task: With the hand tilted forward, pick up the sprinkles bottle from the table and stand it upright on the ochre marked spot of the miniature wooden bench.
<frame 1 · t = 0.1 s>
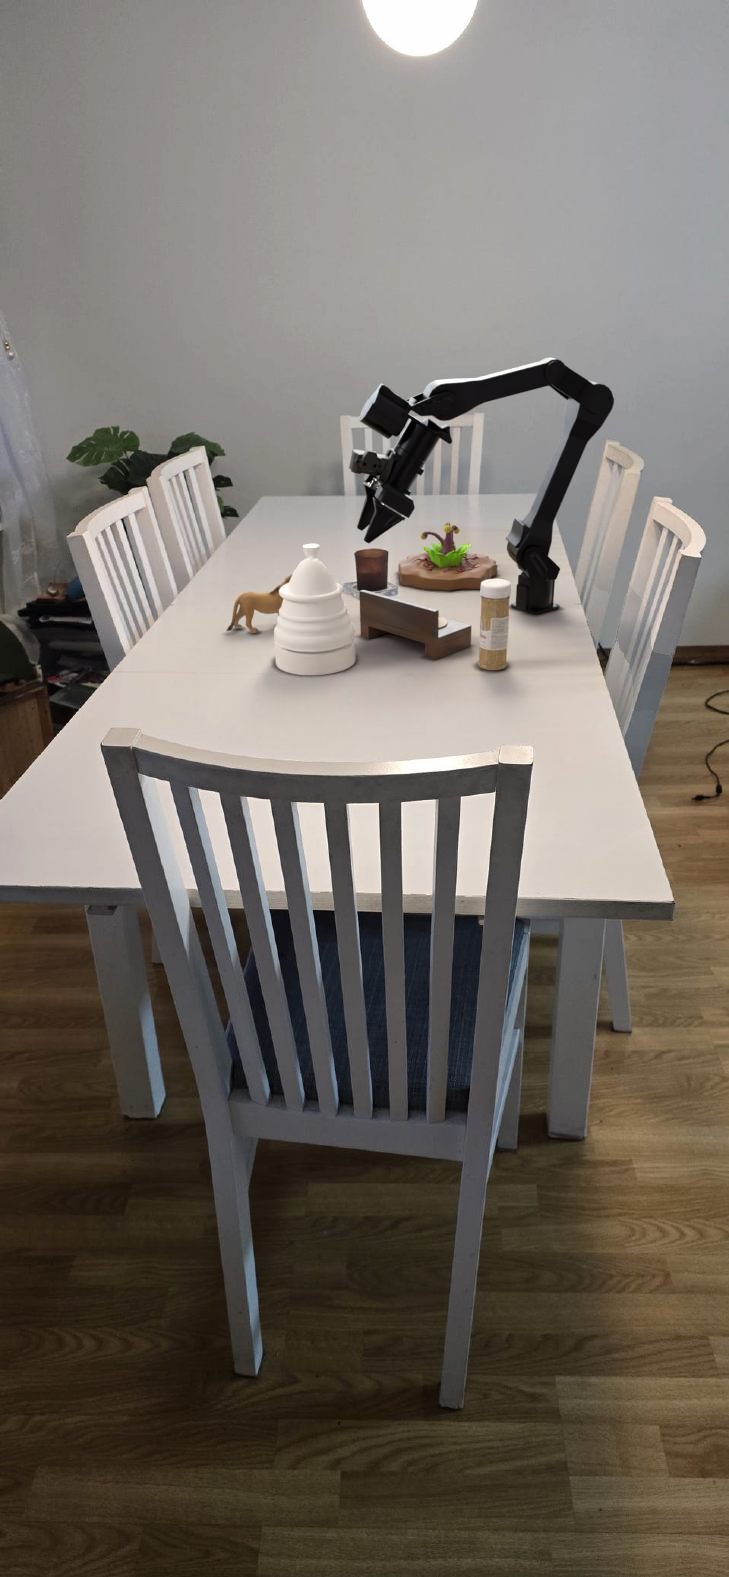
hand: (362, 535, 170), 15 cm above the table, tool tilted 35°, fingers open, 9 cm apart
miniature wooden bench: (414, 641, 166), on the table
plant: (446, 577, 200), on the table
sprinkles bottle: (492, 667, 155), on the table
honey pot: (315, 661, 159), on the table
lion figurine: (270, 628, 174), on the table
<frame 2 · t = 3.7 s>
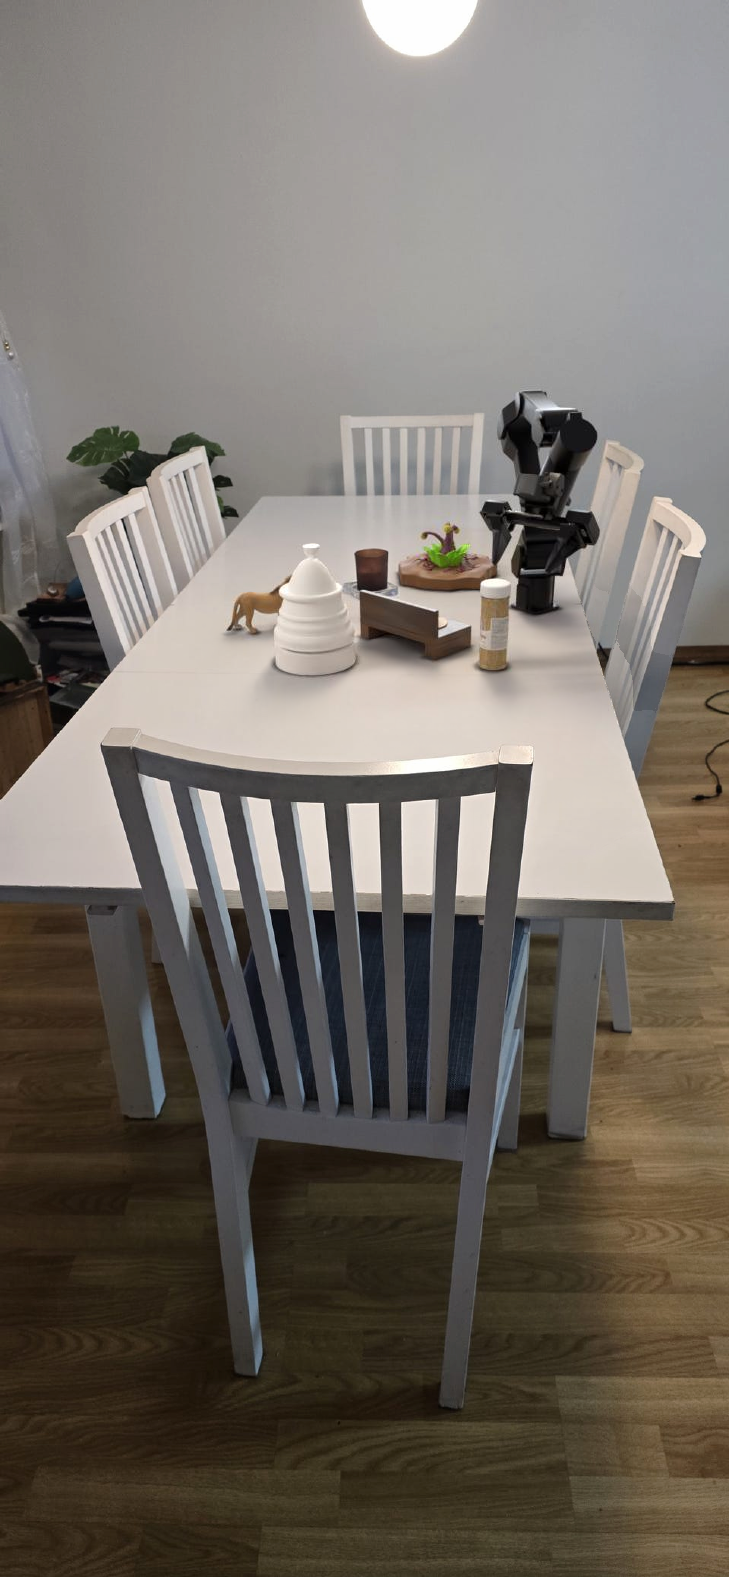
hand: (519, 568, 154), 14 cm above the table, tool tilted 45°, fingers open, 9 cm apart
nothing on the table moved.
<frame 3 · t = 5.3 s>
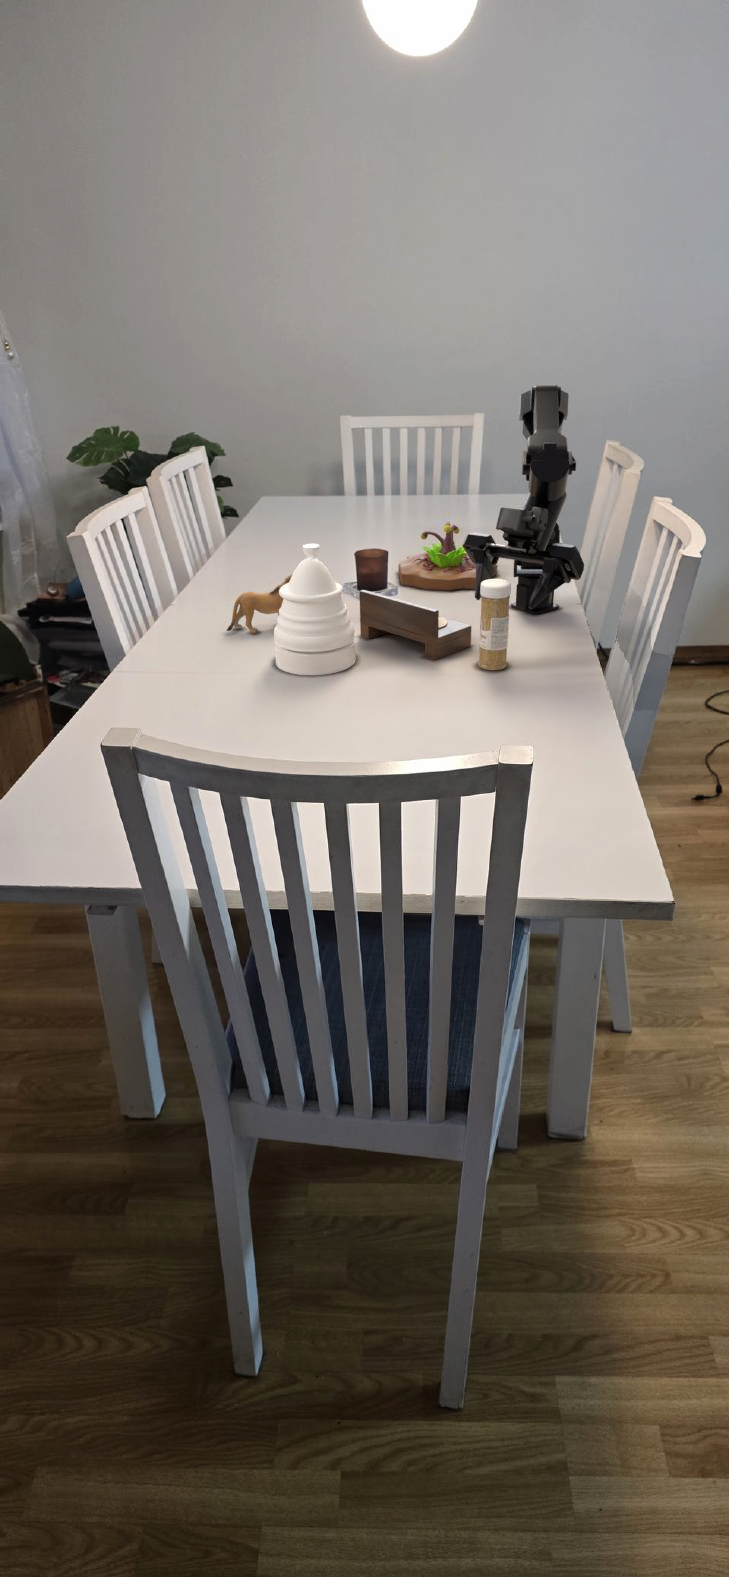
hand: (503, 603, 152), 10 cm above the table, tool tilted 45°, fingers open, 9 cm apart
nothing on the table moved.
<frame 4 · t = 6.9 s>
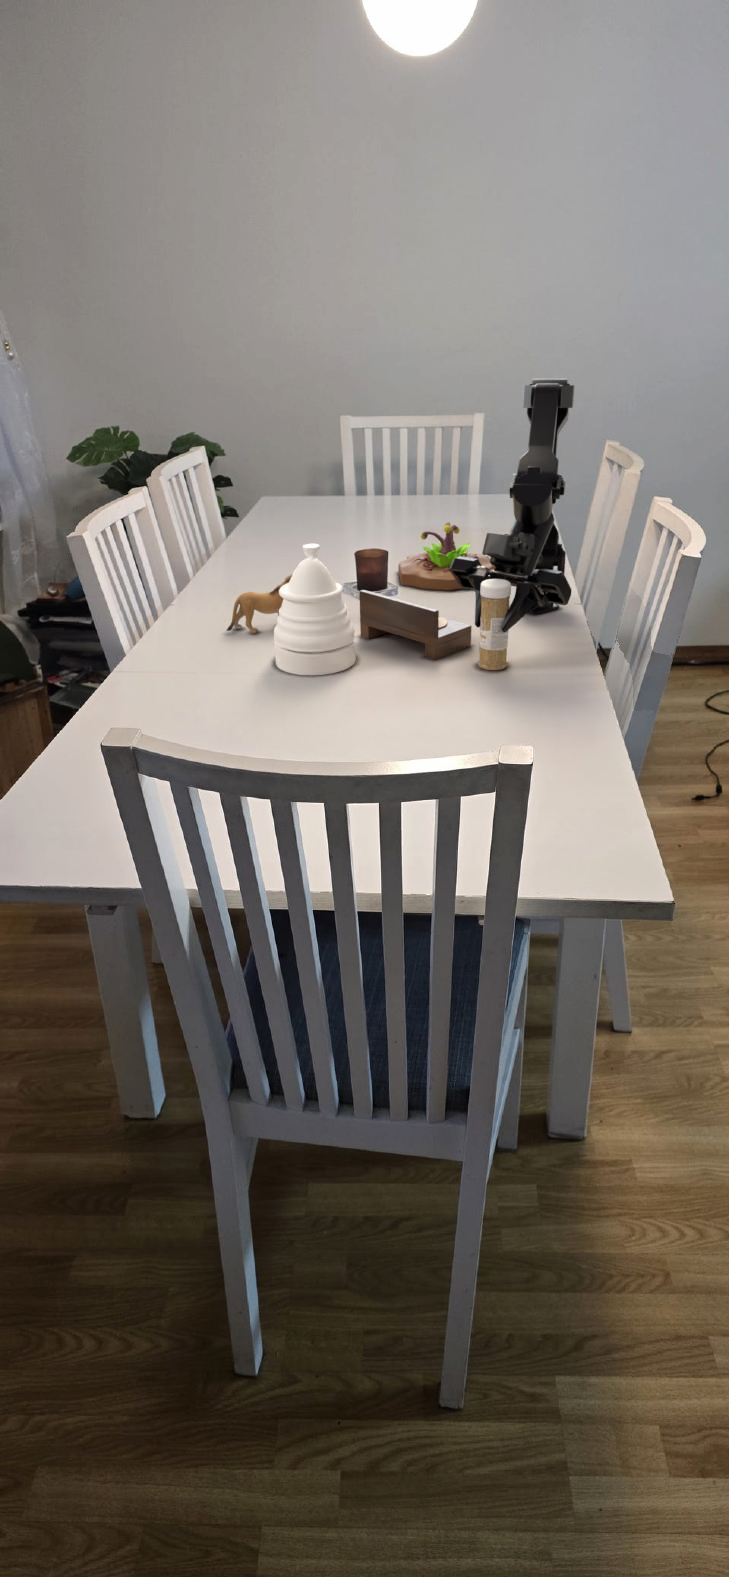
hand: (489, 628, 151), 7 cm above the table, tool tilted 45°, fingers closed on sprinkles bottle, 4 cm apart
sprinkles bottle: (492, 667, 155), on the table, touching gripper
everything else where it was.
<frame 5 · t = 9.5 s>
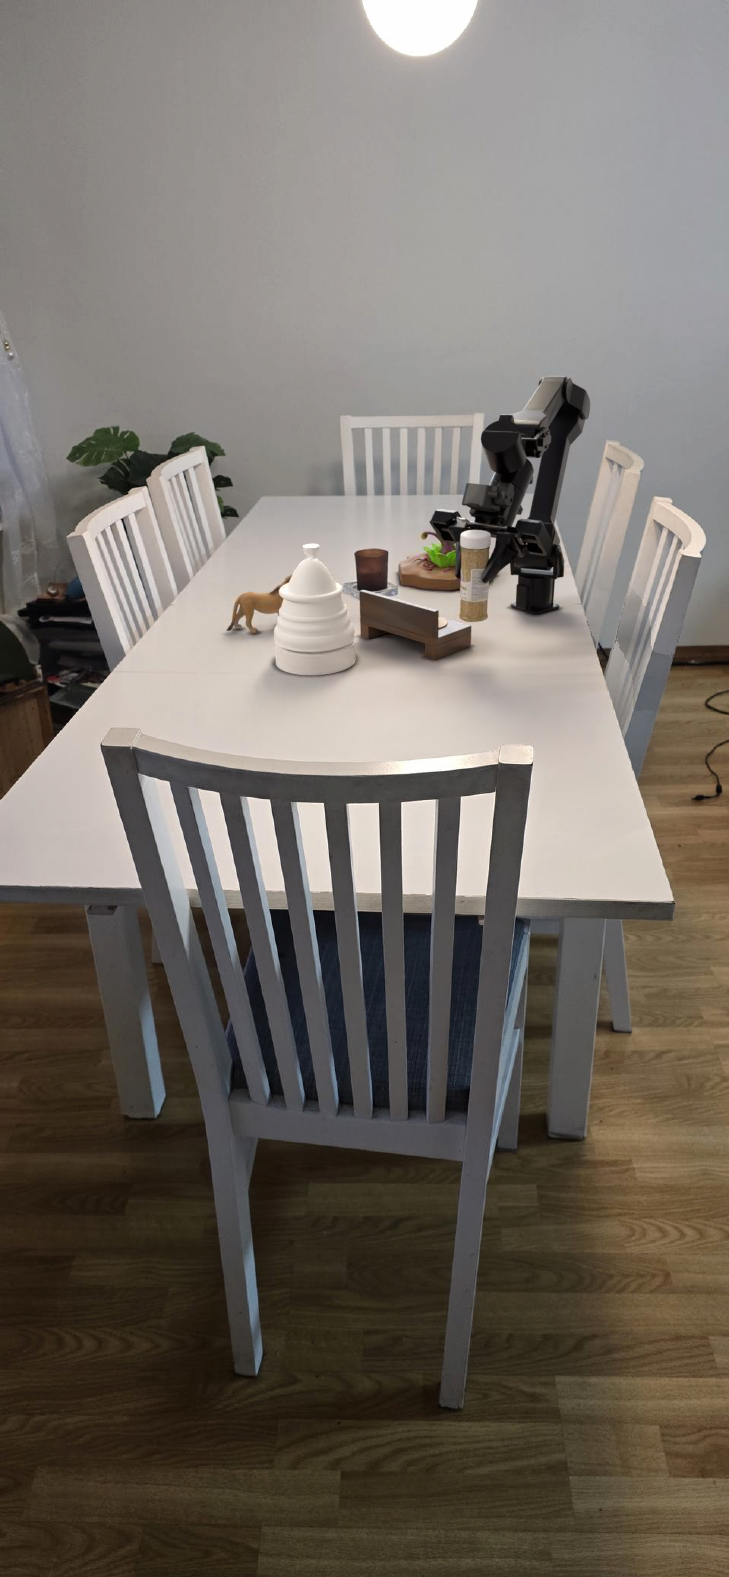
hand: (470, 579, 151), 13 cm above the table, tool tilted 45°, fingers closed on sprinkles bottle, 4 cm apart
sprinkles bottle: (473, 619, 155), point 6 cm above the table, touching gripper
everything else where it was.
when the fingers open (10 cm above the table, at t = 12.3 s): sprinkles bottle stays where it is, resting on miniature wooden bench.
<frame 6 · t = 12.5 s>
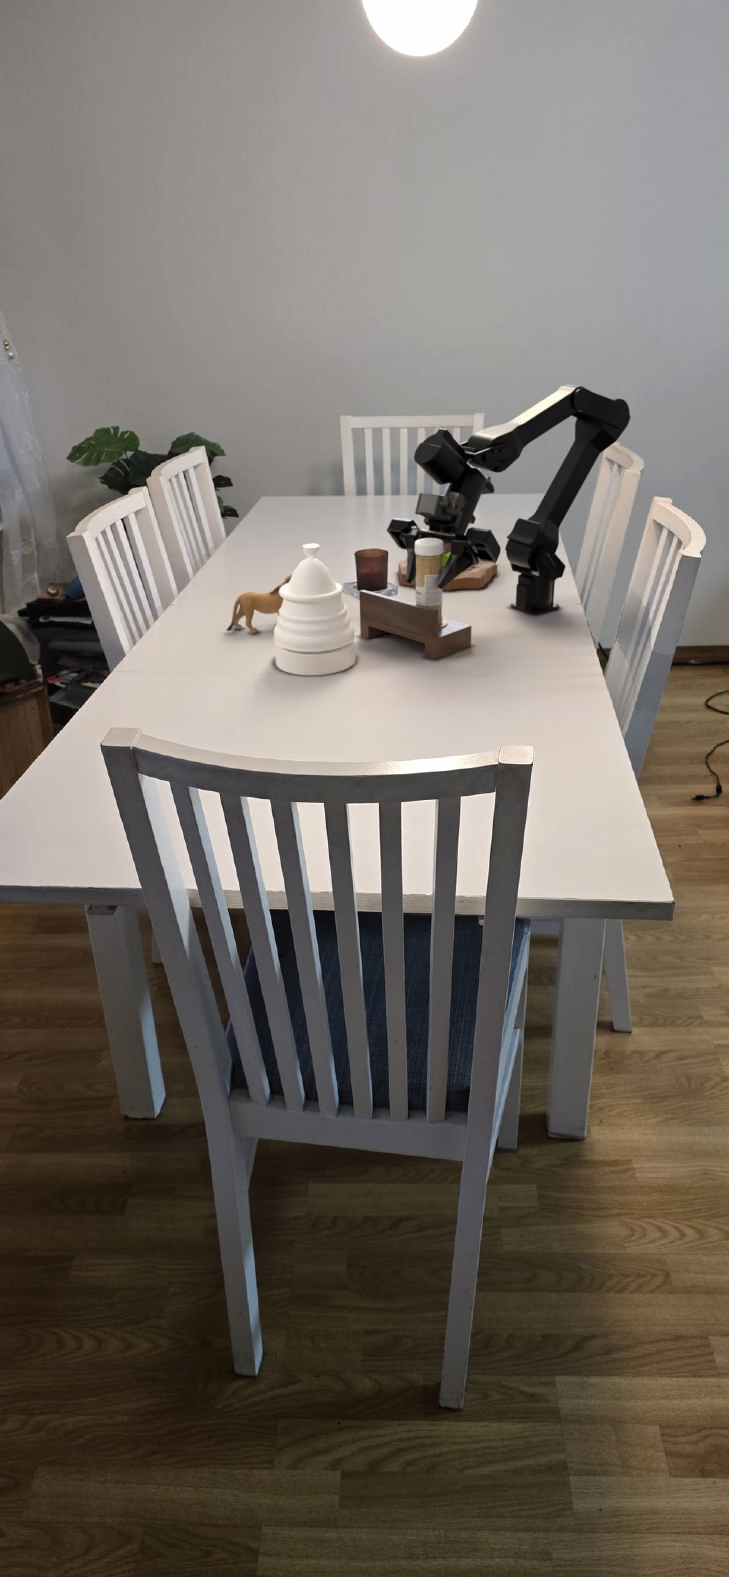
hand: (423, 585, 159), 10 cm above the table, tool tilted 45°, fingers open, 6 cm apart
sprinkles bottle: (429, 623, 163), point 4 cm above the table, touching miniature wooden bench
everything else where it was.
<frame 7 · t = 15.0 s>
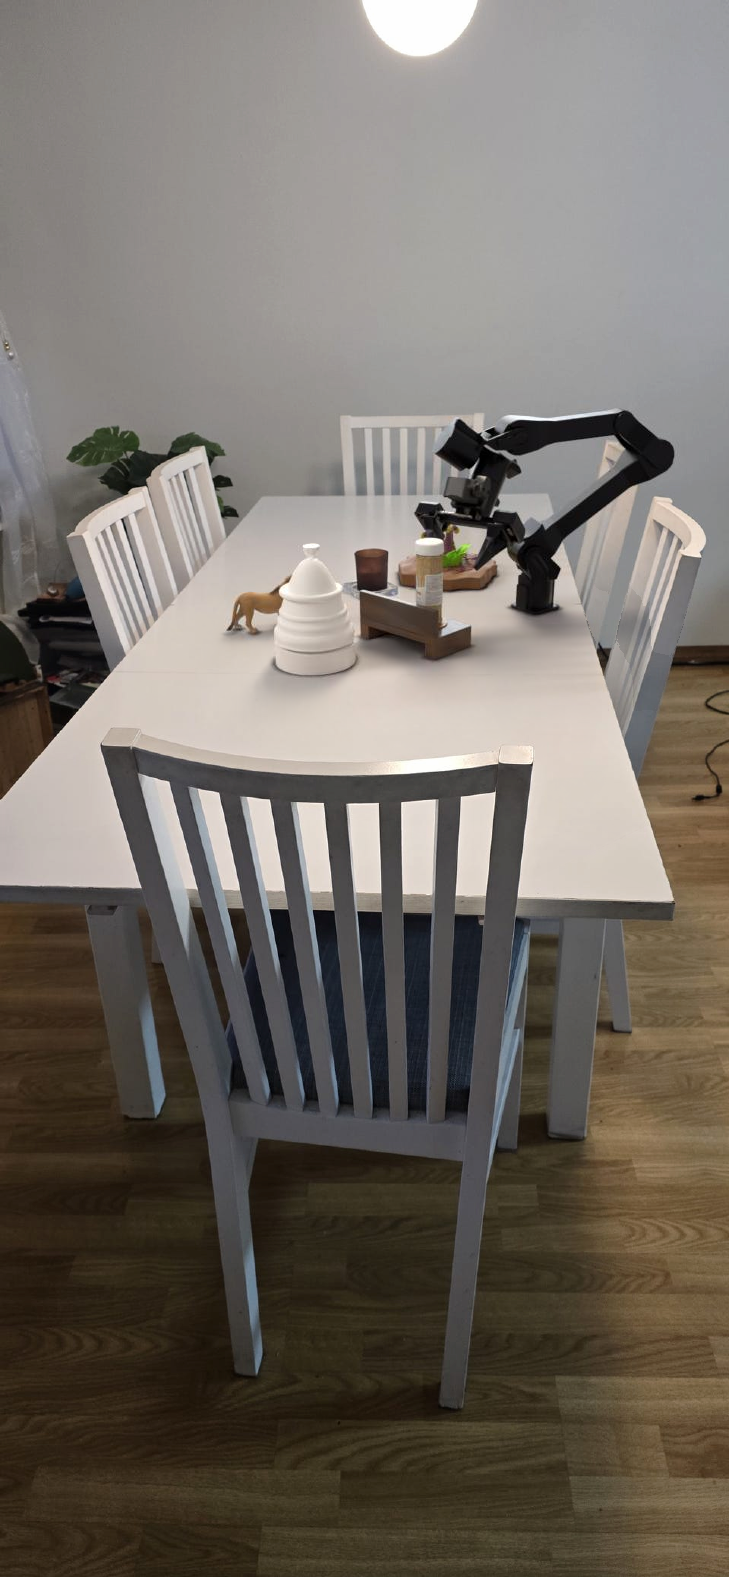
hand: (451, 565, 164), 12 cm above the table, tool tilted 45°, fingers open, 9 cm apart
nothing on the table moved.
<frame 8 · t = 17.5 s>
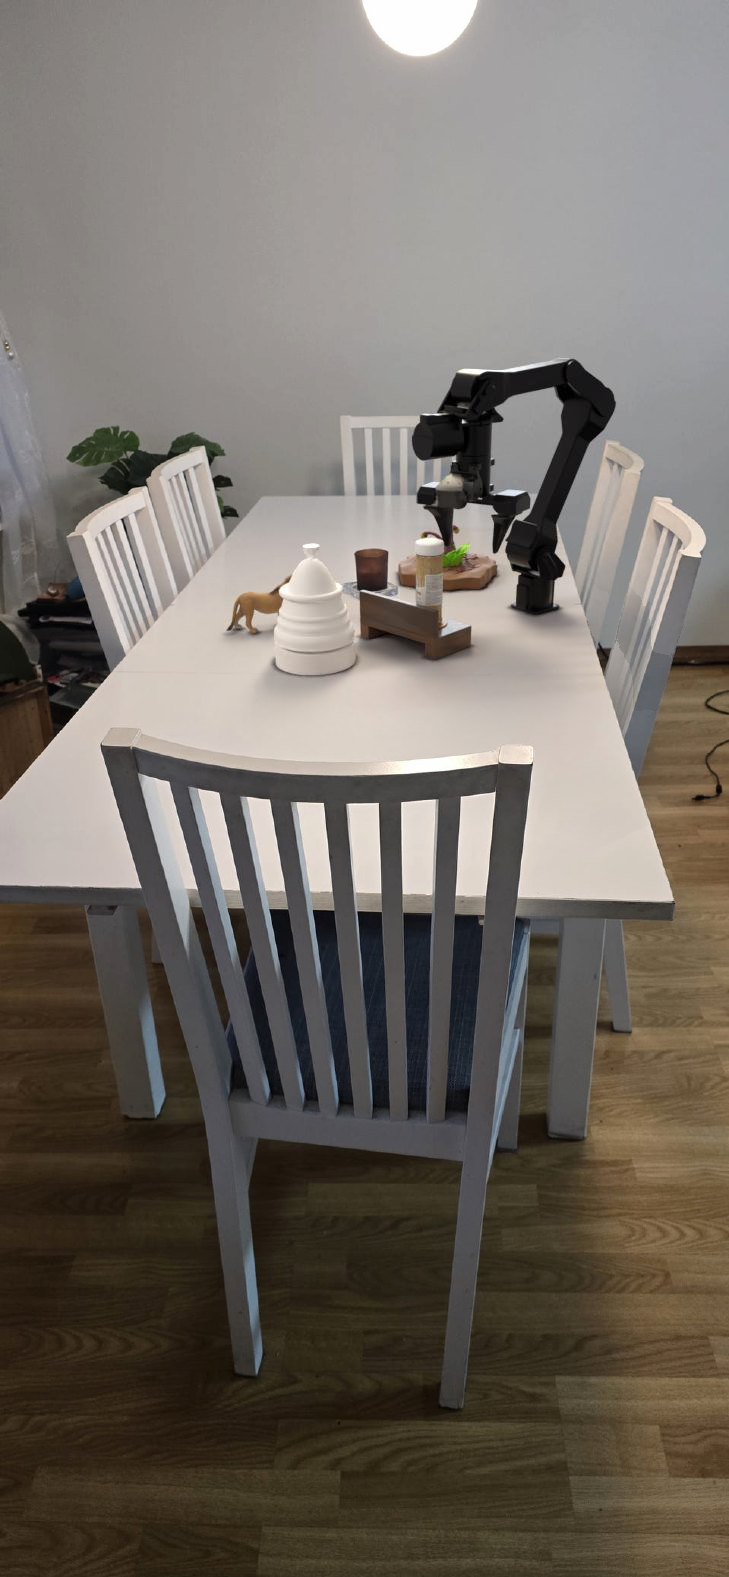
hand: (471, 549, 167), 13 cm above the table, tool pointing down, fingers open, 9 cm apart
nothing on the table moved.
at the end: sprinkles bottle 0.2 cm from the target spot on the miniature wooden bench, point 3.5 cm above the miniature wooden bench's base; sprinkles bottle tilted 0°; the gripper is holding nothing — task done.
